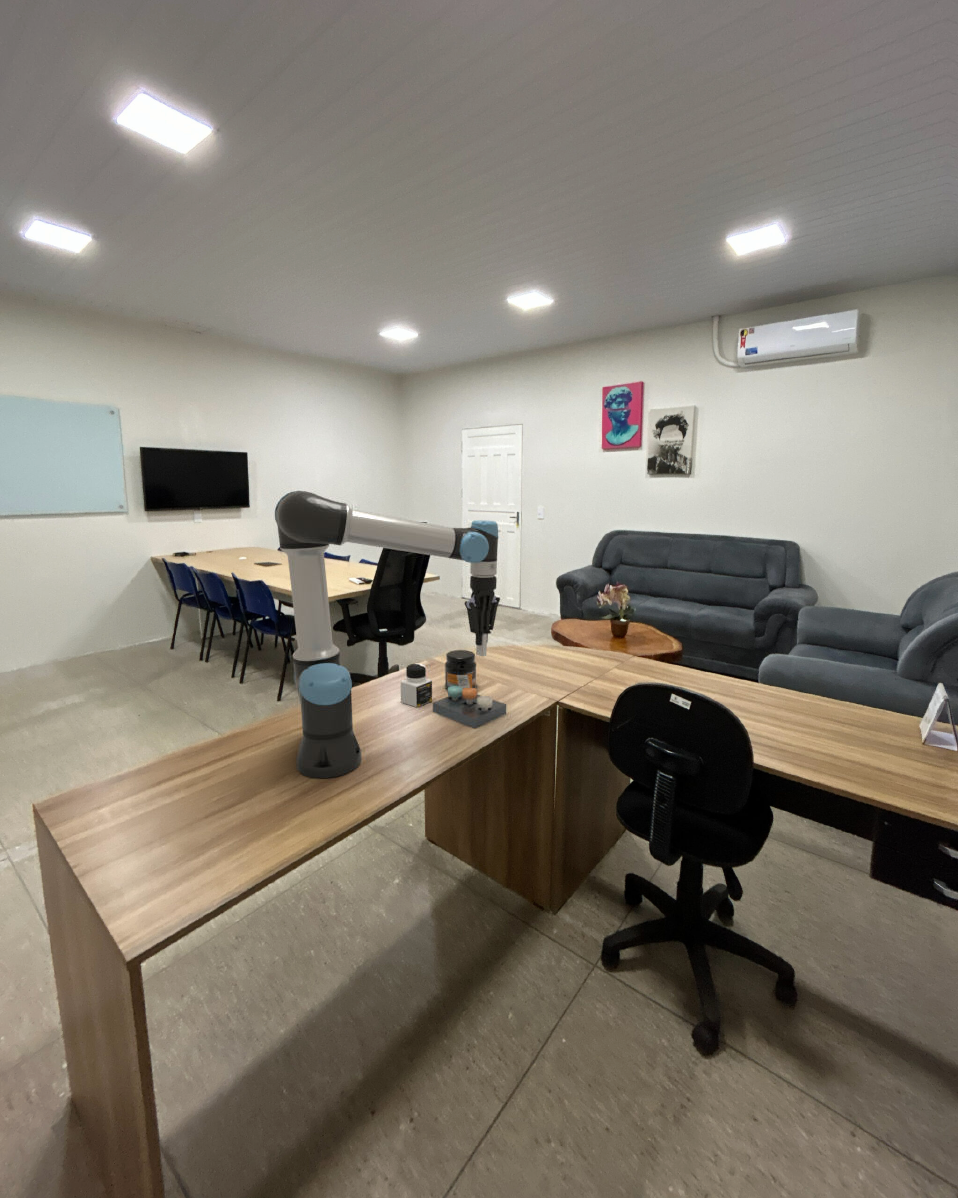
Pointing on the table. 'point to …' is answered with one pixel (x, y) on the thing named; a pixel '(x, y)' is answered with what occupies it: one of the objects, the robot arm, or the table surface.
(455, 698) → the teal button
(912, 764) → the table surface
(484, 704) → the ivory button
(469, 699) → the orange button
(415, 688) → the medicine bottle
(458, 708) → the console
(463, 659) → the supplement container
